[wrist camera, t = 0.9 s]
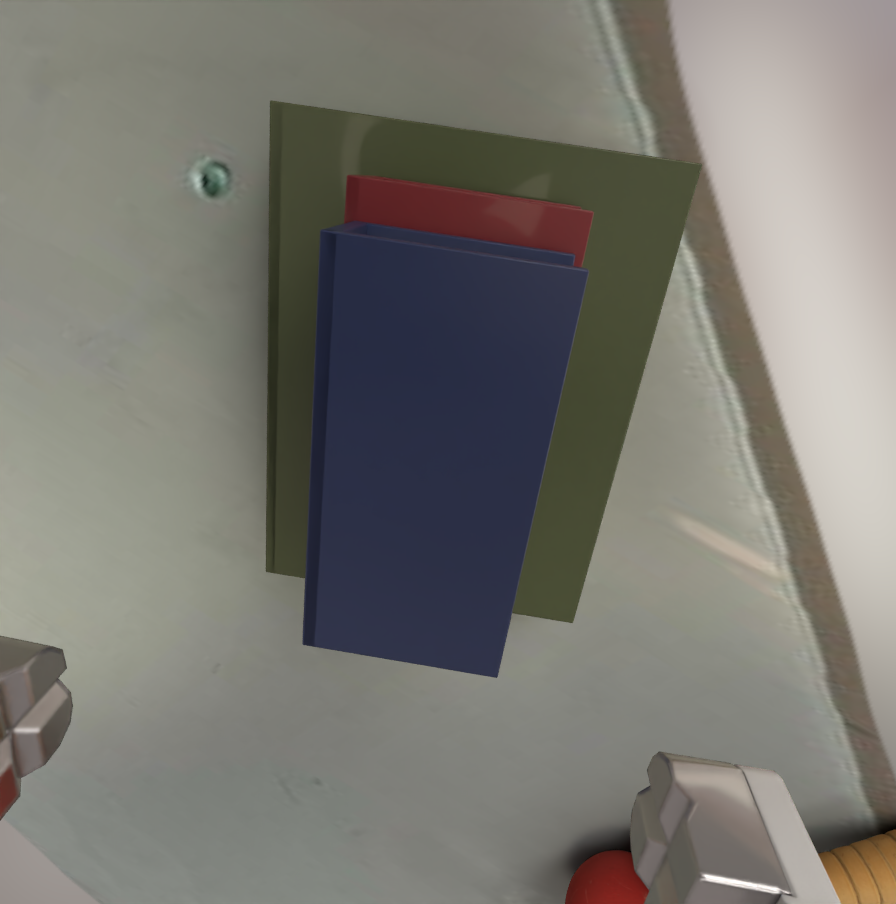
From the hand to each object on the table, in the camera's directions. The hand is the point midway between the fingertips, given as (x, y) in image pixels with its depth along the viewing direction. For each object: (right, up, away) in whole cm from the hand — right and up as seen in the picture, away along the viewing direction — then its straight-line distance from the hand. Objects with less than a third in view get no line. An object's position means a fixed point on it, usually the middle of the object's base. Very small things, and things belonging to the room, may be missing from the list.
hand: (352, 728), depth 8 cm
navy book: (+1, +4, +9) cm, 10 cm away
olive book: (+2, +7, +14) cm, 16 cm away
